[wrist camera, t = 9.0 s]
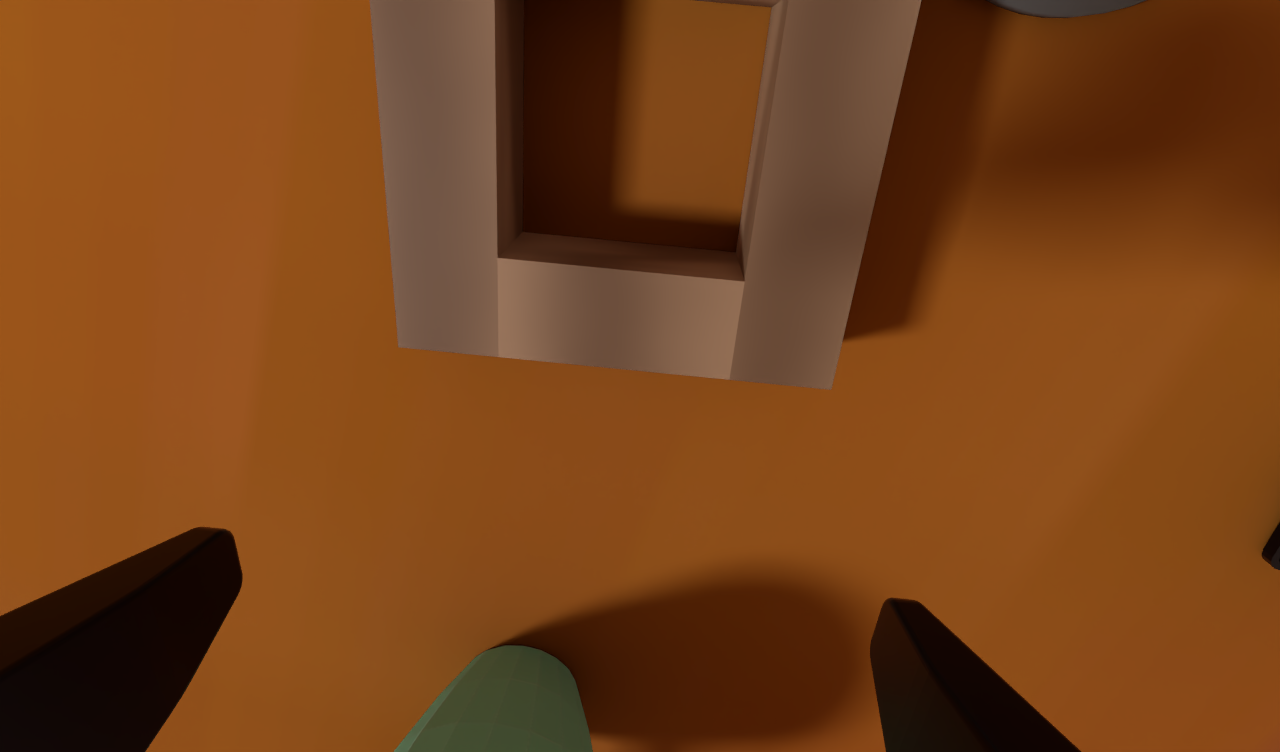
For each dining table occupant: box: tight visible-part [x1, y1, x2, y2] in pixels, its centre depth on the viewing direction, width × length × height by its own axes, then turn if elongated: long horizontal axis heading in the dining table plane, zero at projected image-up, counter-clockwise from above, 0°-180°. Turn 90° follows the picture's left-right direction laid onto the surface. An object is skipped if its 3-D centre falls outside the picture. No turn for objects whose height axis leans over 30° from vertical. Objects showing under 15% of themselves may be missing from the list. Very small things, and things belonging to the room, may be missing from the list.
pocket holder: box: [370, 0, 922, 390], centre depth 17 cm, size 12×12×3 cm
